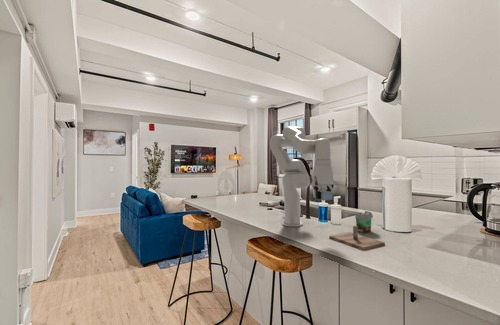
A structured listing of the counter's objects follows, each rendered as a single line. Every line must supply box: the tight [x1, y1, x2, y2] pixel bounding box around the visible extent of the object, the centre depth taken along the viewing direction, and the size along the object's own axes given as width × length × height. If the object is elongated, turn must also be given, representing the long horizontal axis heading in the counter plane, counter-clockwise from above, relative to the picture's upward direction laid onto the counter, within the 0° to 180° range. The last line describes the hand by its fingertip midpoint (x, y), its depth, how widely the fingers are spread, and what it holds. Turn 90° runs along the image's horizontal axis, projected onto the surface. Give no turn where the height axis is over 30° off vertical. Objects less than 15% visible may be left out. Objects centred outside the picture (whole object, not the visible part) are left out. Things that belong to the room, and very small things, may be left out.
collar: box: [314, 190, 334, 201], centre depth 124 cm, size 6×6×4 cm
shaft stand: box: [328, 225, 386, 251], centre depth 117 cm, size 20×14×7 cm
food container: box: [354, 210, 374, 234], centre depth 133 cm, size 12×6×10 cm, turn 131°
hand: (323, 198), depth 124 cm, fingers closed on collar, 6 cm apart
